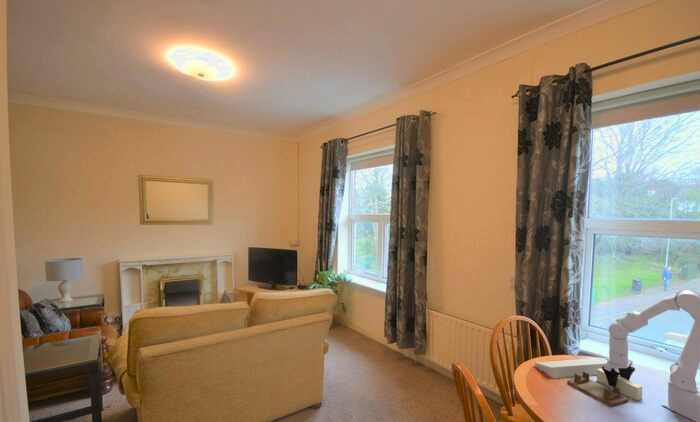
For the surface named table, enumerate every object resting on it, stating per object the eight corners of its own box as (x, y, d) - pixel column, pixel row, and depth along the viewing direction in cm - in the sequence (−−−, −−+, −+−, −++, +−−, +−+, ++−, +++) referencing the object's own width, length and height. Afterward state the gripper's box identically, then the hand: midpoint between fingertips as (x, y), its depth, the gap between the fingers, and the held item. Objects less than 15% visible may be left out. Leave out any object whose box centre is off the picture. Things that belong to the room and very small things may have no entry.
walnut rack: (628, 401, 112) (628, 389, 112) (611, 407, 109) (611, 395, 109) (583, 378, 128) (583, 368, 128) (567, 383, 124) (567, 372, 124)
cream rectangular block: (642, 399, 114) (642, 386, 114) (637, 400, 113) (637, 387, 113) (601, 379, 128) (601, 368, 128) (597, 380, 127) (597, 369, 127)
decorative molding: (536, 373, 137) (553, 379, 127) (534, 362, 138) (551, 367, 129) (600, 368, 141) (621, 374, 132) (597, 357, 143) (618, 362, 133)
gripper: (618, 345, 127) (618, 376, 127) (595, 349, 122) (595, 382, 122) (638, 352, 120) (638, 385, 120) (615, 358, 115) (615, 392, 115)
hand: (618, 384), depth 120 cm, fingers open, 7 cm apart
